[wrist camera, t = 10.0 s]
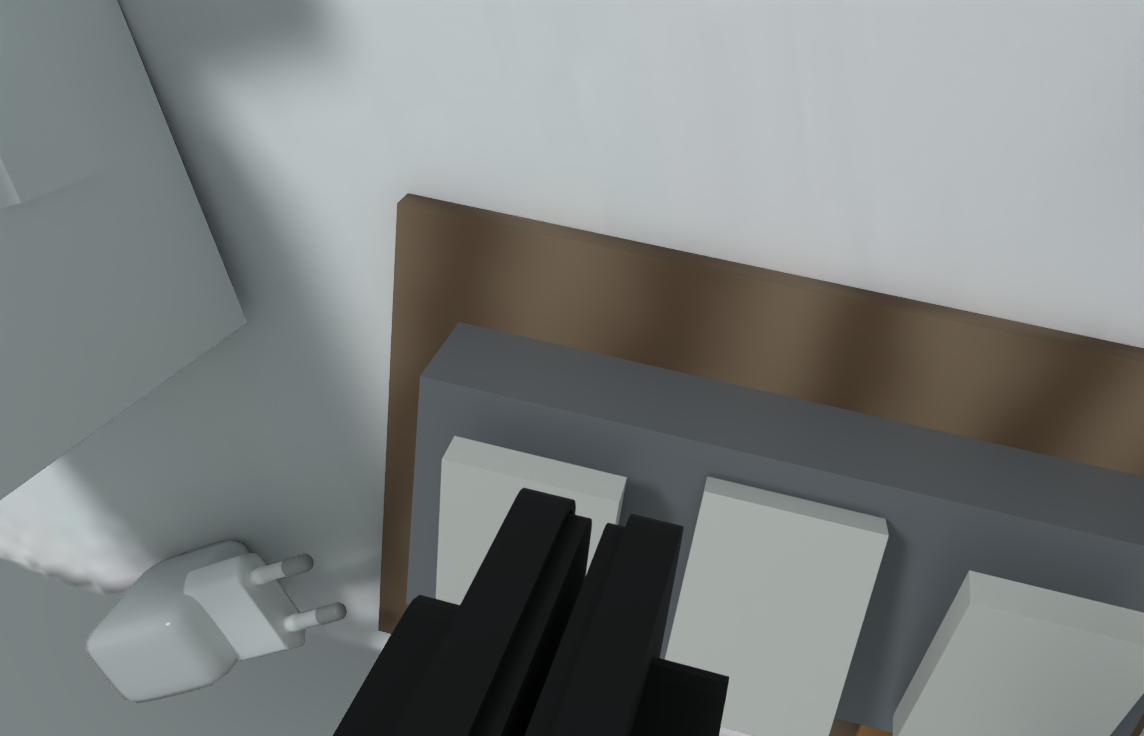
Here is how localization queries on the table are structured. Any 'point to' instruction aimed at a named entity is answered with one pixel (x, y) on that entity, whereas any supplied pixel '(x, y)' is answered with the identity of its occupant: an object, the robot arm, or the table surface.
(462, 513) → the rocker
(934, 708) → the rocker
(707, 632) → the rocker
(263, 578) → the power adapter
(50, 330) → the blocky voxel creature
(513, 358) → the switch housing
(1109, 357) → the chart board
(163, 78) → the table surface
